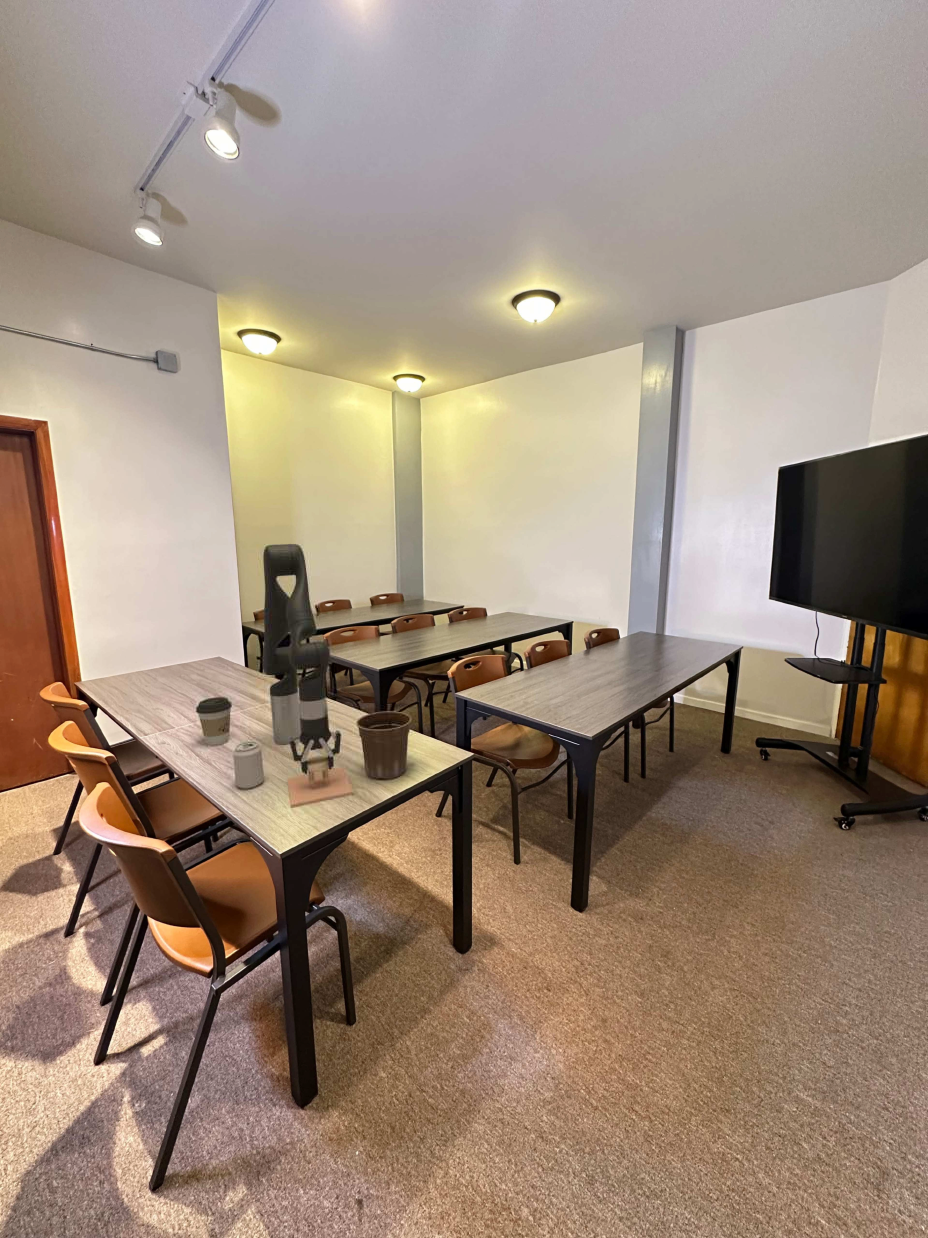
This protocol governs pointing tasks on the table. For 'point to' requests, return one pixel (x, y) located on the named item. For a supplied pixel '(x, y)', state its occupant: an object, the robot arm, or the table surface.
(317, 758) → the stool
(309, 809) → the table surface
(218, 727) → the coffee cup
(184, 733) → the table surface
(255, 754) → the can
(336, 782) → the mat
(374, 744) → the plant pot
